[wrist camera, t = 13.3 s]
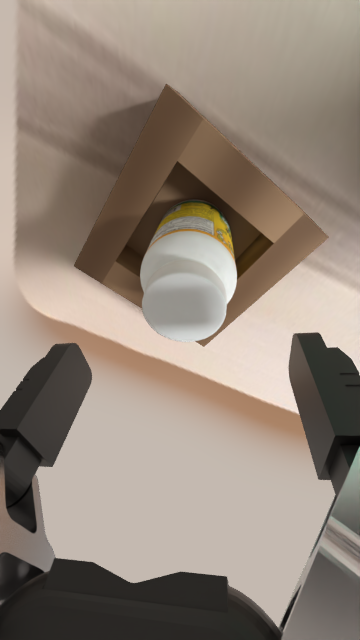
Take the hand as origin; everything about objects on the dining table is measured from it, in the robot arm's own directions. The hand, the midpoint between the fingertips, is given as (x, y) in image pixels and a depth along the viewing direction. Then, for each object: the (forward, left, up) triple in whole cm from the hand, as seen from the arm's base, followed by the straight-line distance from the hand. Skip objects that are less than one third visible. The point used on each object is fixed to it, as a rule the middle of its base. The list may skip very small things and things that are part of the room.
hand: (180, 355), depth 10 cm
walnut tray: (0, 0, -16) cm, 16 cm away
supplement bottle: (0, 0, -13) cm, 13 cm away
